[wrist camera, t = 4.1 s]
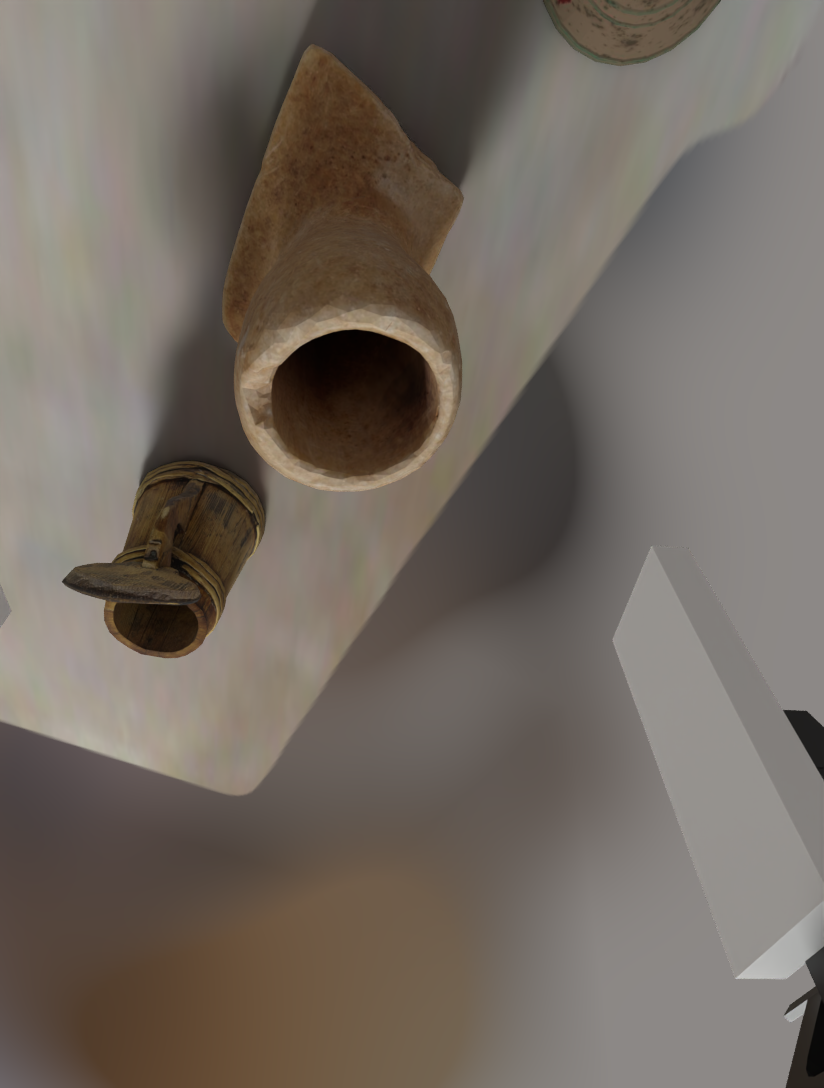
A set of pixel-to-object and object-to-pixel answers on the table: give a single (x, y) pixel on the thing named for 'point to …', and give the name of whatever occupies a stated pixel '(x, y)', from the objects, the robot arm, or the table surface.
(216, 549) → the wooden mug
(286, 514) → the table surface
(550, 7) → the candlestick holder
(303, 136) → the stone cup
